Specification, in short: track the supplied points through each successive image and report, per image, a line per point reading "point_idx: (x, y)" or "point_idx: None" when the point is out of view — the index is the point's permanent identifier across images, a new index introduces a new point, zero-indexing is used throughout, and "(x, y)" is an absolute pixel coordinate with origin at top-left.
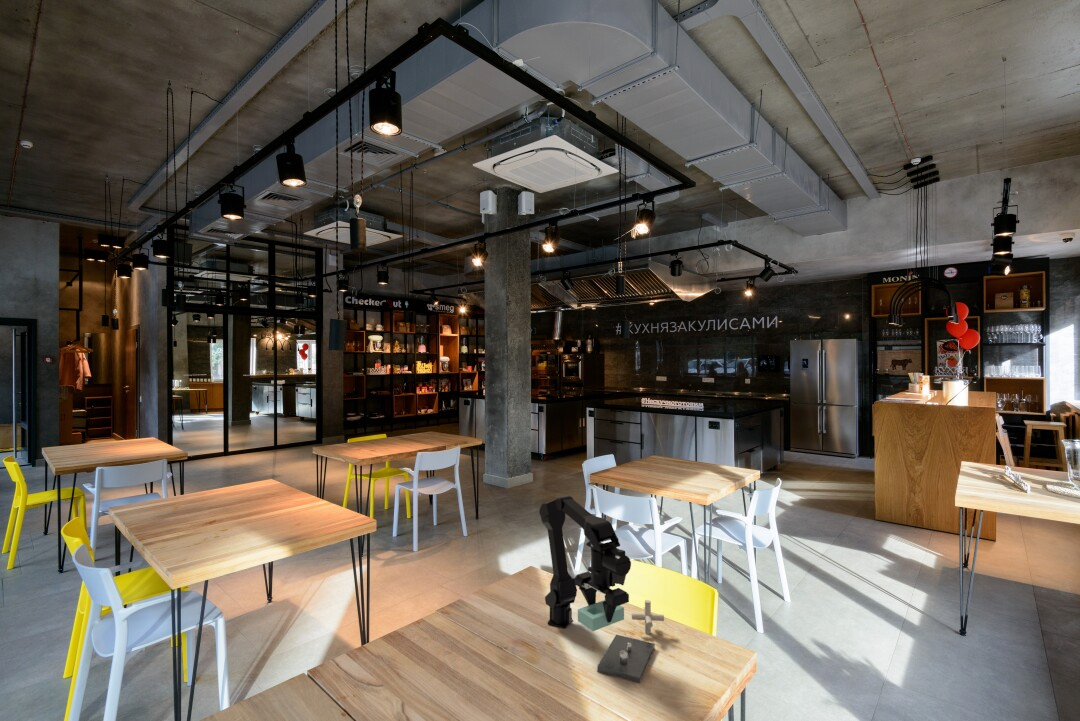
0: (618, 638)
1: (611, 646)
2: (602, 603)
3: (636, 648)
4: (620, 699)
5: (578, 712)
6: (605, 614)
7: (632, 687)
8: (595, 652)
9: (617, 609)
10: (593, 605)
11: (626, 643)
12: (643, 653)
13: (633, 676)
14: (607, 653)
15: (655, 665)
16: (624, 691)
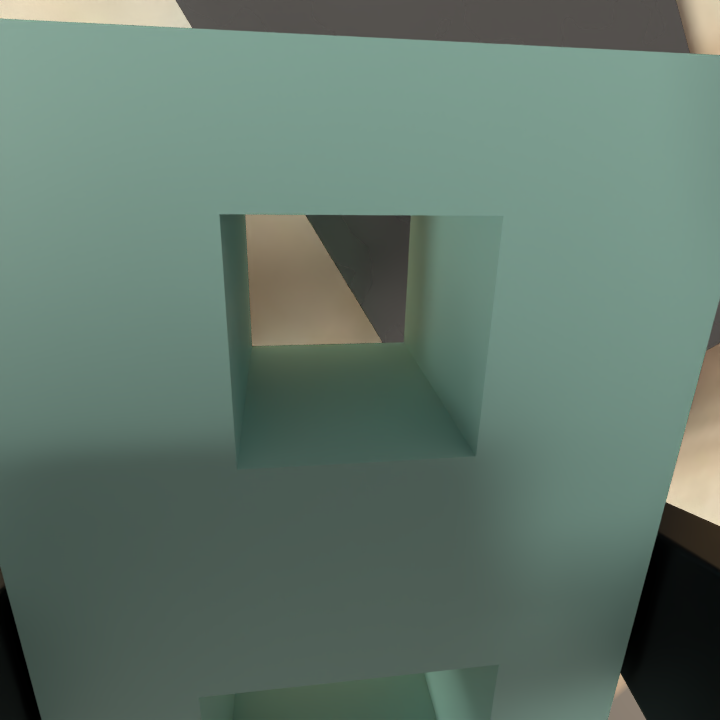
0: (252, 30)
1: (332, 216)
2: (133, 464)
3: (513, 9)
4: (714, 493)
5: (618, 690)
6: (644, 702)
7: (712, 373)
8: (260, 340)
9: (686, 322)
10: (115, 702)
11: (383, 31)
12: (615, 20)
13: (717, 343)
14: (396, 324)
15: (713, 17)
16: (695, 436)
